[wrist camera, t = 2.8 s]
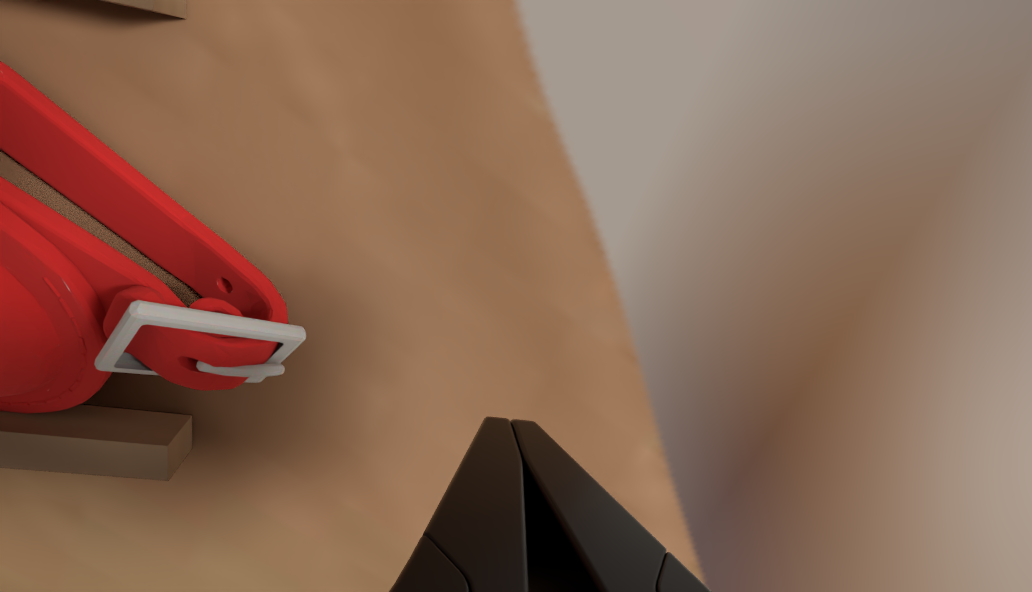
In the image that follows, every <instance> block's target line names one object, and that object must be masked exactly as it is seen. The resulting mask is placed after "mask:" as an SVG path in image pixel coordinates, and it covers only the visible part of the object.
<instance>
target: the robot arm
mask: <svg viewBox="0 0 1032 592" xmlns="http://www.w3.org/2000/svg"><path fill="white" fill-rule="evenodd" d="M389 592H712V591H711V590H709V589H708V588H707V587H706V586H705V585H704V584H703V583H702V582H701V581H700V580H699V579H698V578H696V577H695V576H694V575H693V574H692V573H691V572H690V571H689V570H688V569H687V568H686V567H685V566H684V565H683V564H682V563H681V562H680V561H679V560H678V559H676V558H675V557H674V556H673V555H672V554H671V553H670V552H667V553H666V548H665V547H664V546H663V545H662V544H661V543H660V542H659V541H658V540H657V539H656V538H655V537H653V536H652V535H651V534H650V533H649V532H648V531H647V530H646V529H645V528H644V527H643V526H642V525H641V524H640V523H639V522H638V521H637V520H636V519H635V518H634V517H633V516H632V515H631V514H630V513H629V512H628V511H627V510H626V509H625V508H623V507H622V506H621V505H620V504H619V503H618V502H617V501H616V500H615V499H614V498H613V497H612V496H611V495H610V494H609V493H608V492H607V491H606V490H605V489H604V488H603V487H602V486H601V485H600V484H599V483H598V482H597V481H596V480H595V479H593V478H592V477H591V476H590V475H589V474H588V473H587V472H586V471H585V470H584V469H583V468H582V467H581V466H580V465H579V464H578V463H577V462H576V461H575V460H574V459H573V458H572V457H571V456H570V455H569V454H568V453H567V452H566V451H564V450H563V449H562V448H561V447H560V446H559V445H558V444H557V443H556V442H555V441H554V440H553V439H552V438H551V437H550V436H549V435H548V434H547V433H546V432H545V431H544V430H543V429H542V428H541V427H540V426H539V425H538V424H536V423H535V422H533V421H527V420H517V419H513V420H511V421H509V420H508V419H506V418H498V417H486V418H485V419H484V420H483V422H482V424H481V426H480V428H479V430H478V432H477V434H476V435H475V437H474V439H473V441H472V443H471V445H470V447H469V449H468V450H467V452H466V454H465V456H464V458H463V460H462V462H461V464H460V466H459V467H458V469H457V471H456V473H455V475H454V477H453V479H452V481H451V482H450V484H449V486H448V488H447V490H446V492H445V494H444V496H443V498H442V499H441V501H440V503H439V505H438V507H437V509H436V511H435V513H434V514H433V516H432V518H431V520H430V522H429V524H428V526H427V528H426V530H425V531H424V533H423V536H422V537H421V538H420V540H419V542H418V544H417V546H416V548H415V549H414V551H413V553H412V555H411V557H410V559H409V560H408V562H407V564H406V565H405V567H404V569H403V570H402V572H401V574H400V575H399V577H398V579H397V581H396V582H395V584H394V585H393V587H392V588H391V590H390V591H389Z"/></svg>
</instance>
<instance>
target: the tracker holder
mask: <svg viewBox="0 0 1032 592" xmlns="http://www.w3.org/2000/svg"><path fill="white" fill-rule="evenodd" d="M0 149H1V150H2V151H4V152H5V153H6V154H8V155H9V156H11V157H12V158H13V159H15V160H16V161H17V162H19V163H20V164H22V165H23V166H24V167H26V168H27V169H28V170H30V171H31V172H33V173H34V174H35V175H37V176H38V177H39V178H41V179H42V180H43V181H45V182H46V183H48V184H49V185H50V186H52V187H53V188H54V189H56V190H57V191H59V192H60V193H61V194H63V195H64V196H65V197H67V198H68V199H70V200H71V201H72V202H74V203H75V204H76V205H78V206H79V207H80V208H82V209H83V210H85V211H86V212H87V213H89V214H90V215H91V216H93V217H94V218H96V219H97V220H98V221H100V222H101V223H102V224H104V225H105V226H107V227H108V228H109V229H111V230H112V231H113V232H115V233H116V234H117V235H119V236H120V237H122V238H123V239H124V240H126V241H127V242H128V243H130V244H131V245H133V246H134V247H135V248H137V249H138V250H139V251H141V252H142V253H143V254H144V255H146V256H147V257H148V258H150V259H151V260H152V261H154V262H155V263H156V264H158V265H159V266H161V267H162V268H164V269H165V270H167V271H168V272H170V273H171V274H173V275H174V276H176V277H177V278H179V279H180V280H182V281H183V282H184V283H186V284H187V285H189V286H190V287H192V288H193V289H194V290H195V291H196V292H198V293H199V294H200V295H201V296H202V297H203V298H200V299H198V300H197V301H195V302H194V303H192V304H191V305H190V307H189V308H187V307H186V305H185V304H184V303H183V302H182V301H181V300H180V299H179V298H178V297H177V296H176V295H175V294H174V293H173V292H172V291H171V290H170V289H169V288H168V287H167V285H165V284H164V283H163V282H162V281H161V280H160V279H158V278H157V277H156V276H154V275H153V274H152V273H150V272H148V271H147V270H145V269H144V268H142V267H141V266H139V265H138V264H136V263H135V262H133V261H132V260H130V259H129V258H127V257H126V256H124V255H123V254H121V253H120V252H118V251H117V250H115V249H114V248H112V247H111V246H109V245H108V244H106V243H105V242H103V241H102V240H100V239H98V238H97V237H95V236H94V235H92V234H91V233H89V232H87V231H86V230H84V229H83V228H81V227H79V226H78V225H76V224H75V223H73V222H72V221H70V220H68V219H67V218H65V217H64V216H62V215H61V214H59V213H57V212H56V211H54V210H53V209H51V208H49V207H48V206H46V205H45V204H43V203H42V202H40V201H38V200H37V199H35V198H34V197H32V196H31V195H29V194H27V193H26V192H24V191H23V190H21V189H19V188H18V187H16V186H15V185H13V184H12V183H10V182H8V181H7V180H5V179H4V178H2V177H1V176H0V411H7V412H17V413H43V412H54V411H59V410H64V409H68V408H71V407H75V406H77V405H79V404H81V403H83V402H85V401H87V400H88V399H89V398H90V397H92V396H93V395H94V394H95V393H96V392H97V391H98V390H100V388H101V387H102V386H103V385H104V383H105V382H106V381H107V379H108V378H109V377H110V375H111V373H112V372H122V373H135V374H148V375H160V376H161V377H163V378H164V379H166V380H168V381H170V382H172V383H175V384H178V385H181V386H185V387H188V388H192V389H196V390H225V389H233V388H235V387H237V386H239V385H241V384H242V383H243V382H250V383H258V382H261V381H262V380H263V379H264V378H265V377H268V376H278V375H281V374H283V373H284V371H285V367H284V366H283V365H282V364H281V362H282V361H283V360H284V359H285V358H287V357H288V356H289V355H290V354H291V353H292V352H293V351H294V350H295V349H296V348H297V347H298V346H299V345H300V344H301V343H302V342H303V341H304V340H305V339H306V332H305V330H304V328H303V327H302V326H296V325H290V324H288V316H287V308H286V304H285V302H284V301H283V299H282V297H281V296H280V294H279V293H278V291H277V290H276V289H275V287H274V286H273V284H272V283H271V281H270V280H269V279H268V278H267V277H266V276H265V275H264V274H263V273H262V272H261V271H260V270H258V269H257V268H256V267H255V266H254V265H252V264H251V263H250V262H249V261H248V260H247V259H245V258H244V257H243V256H242V255H241V254H240V253H238V252H237V251H236V250H235V249H234V248H232V247H231V246H230V245H229V244H228V243H227V242H225V241H224V240H223V239H222V238H220V237H219V236H218V235H217V234H215V233H214V232H213V231H212V230H210V229H209V228H208V227H207V226H205V225H204V224H203V223H202V222H200V221H199V220H198V219H196V218H195V217H194V216H193V215H191V214H190V213H189V212H188V211H186V210H185V209H184V208H183V207H182V206H180V205H179V204H178V203H177V202H175V201H174V200H173V199H172V198H170V197H169V196H168V195H167V194H166V193H164V192H163V191H162V190H161V189H159V188H158V187H157V186H156V185H154V184H153V183H152V182H151V181H150V180H148V179H147V178H146V177H145V176H143V175H142V174H141V173H140V172H138V171H137V170H136V169H135V168H134V167H132V166H131V165H130V164H129V163H127V162H126V161H125V160H124V159H122V158H121V157H120V156H119V155H118V154H116V153H115V152H114V151H113V150H111V149H110V148H109V147H108V146H106V145H105V144H104V143H103V142H101V141H100V140H99V139H98V138H97V137H95V136H94V135H93V134H92V133H90V132H89V131H88V130H87V129H85V128H84V127H83V126H82V125H81V124H79V123H78V122H77V121H76V120H74V119H73V118H72V117H71V116H69V115H68V114H67V113H66V112H65V111H63V110H62V109H61V108H60V107H58V106H57V105H56V104H55V103H53V102H52V101H51V100H50V99H49V98H47V97H46V96H45V95H44V94H42V93H41V92H40V91H39V90H37V89H36V88H35V87H34V86H33V85H31V84H30V83H29V82H28V81H26V80H25V79H24V78H23V77H21V76H20V75H19V74H18V73H16V72H15V71H14V70H13V69H11V68H10V67H9V66H7V65H6V64H4V63H3V62H1V61H0ZM123 351H124V352H127V353H123Z"/></svg>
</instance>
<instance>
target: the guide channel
mask: <svg viewBox="0 0 1032 592" xmlns="http://www.w3.org/2000/svg"><path fill="white" fill-rule="evenodd" d="M100 1H105V2H109V3H114V4H119V5H123V6H128V7H133V8H137V9H142V10H147V11H151V12H156V13H161V14H166V15H170V16H175V17H180V18H184V19H187V0H100ZM191 449H192V415H182V414H172V413H162V412H152V411H141V410H131V409H121V408H111V407H100V406H90V405H80V404H79V405H77V406H75V407H71V408H68V409H64V410H59V411H54V412H43V413H17V412H7V411H0V468H11V469H24V470H37V471H49V472H62V473H75V474H88V475H101V476H113V477H126V478H139V479H152V480H165V481H169V480H170V478H171V477H172V475H173V474H174V473H175V471H176V470H177V469H178V467H179V466H180V464H181V463H182V462H183V460H184V459H185V457H186V456H187V455H188V453H189V452H190V451H191Z"/></svg>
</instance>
